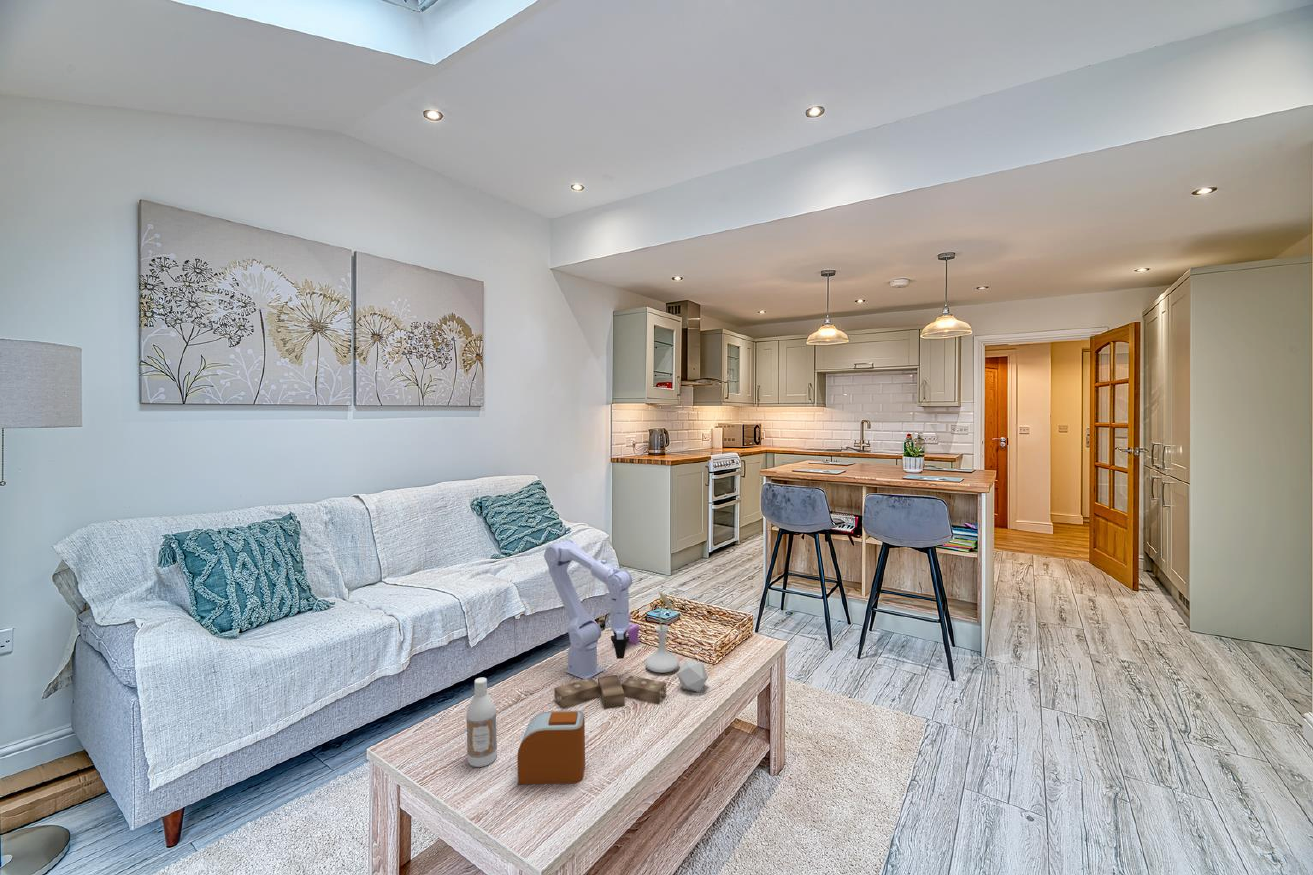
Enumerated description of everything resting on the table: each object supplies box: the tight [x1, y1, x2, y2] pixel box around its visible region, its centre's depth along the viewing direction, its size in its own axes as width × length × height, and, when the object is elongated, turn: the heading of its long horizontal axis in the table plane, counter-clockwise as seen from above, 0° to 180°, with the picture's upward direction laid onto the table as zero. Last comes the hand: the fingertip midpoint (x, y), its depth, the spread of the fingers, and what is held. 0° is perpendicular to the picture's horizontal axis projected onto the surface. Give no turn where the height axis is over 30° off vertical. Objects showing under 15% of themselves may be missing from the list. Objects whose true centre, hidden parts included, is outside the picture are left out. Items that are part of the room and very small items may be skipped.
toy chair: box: [611, 612, 640, 649], centre depth 201 cm, size 8×9×15 cm
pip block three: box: [553, 677, 601, 710], centre depth 164 cm, size 12×6×4 cm, turn 123°
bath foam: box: [466, 676, 498, 768], centre depth 135 cm, size 7×7×20 cm
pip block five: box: [621, 674, 667, 705], centre depth 165 cm, size 12×6×4 cm, turn 67°
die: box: [676, 659, 709, 693], centre depth 169 cm, size 8×9×10 cm
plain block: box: [597, 674, 626, 710], centre depth 164 cm, size 12×6×4 cm, turn 15°
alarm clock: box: [516, 710, 586, 785], centre depth 130 cm, size 15×8×14 cm, turn 91°
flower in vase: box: [645, 591, 680, 673], centre depth 183 cm, size 13×11×25 cm
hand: (620, 652), depth 172 cm, fingers open, 7 cm apart
